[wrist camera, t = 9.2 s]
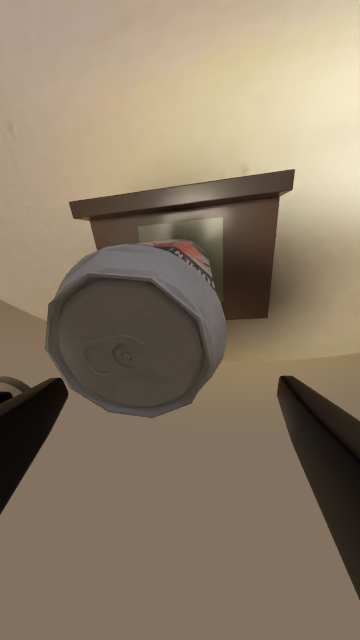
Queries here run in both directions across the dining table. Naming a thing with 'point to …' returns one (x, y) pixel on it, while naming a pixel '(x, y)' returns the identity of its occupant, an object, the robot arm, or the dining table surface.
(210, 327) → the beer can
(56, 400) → the robot arm
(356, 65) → the dining table surface
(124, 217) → the brown rectangular block
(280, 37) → the dining table surface
